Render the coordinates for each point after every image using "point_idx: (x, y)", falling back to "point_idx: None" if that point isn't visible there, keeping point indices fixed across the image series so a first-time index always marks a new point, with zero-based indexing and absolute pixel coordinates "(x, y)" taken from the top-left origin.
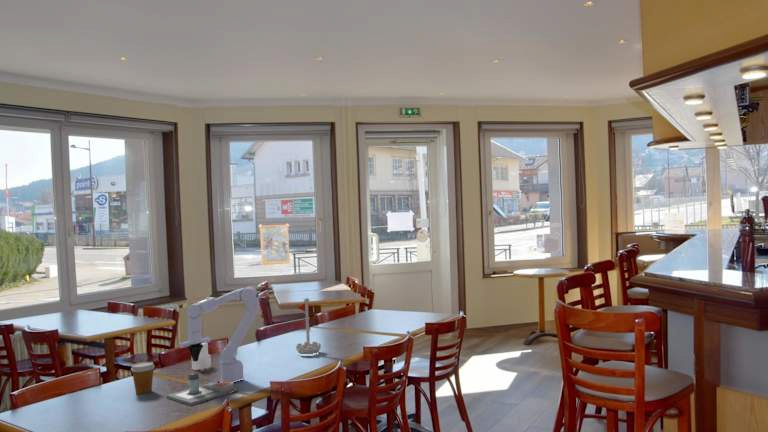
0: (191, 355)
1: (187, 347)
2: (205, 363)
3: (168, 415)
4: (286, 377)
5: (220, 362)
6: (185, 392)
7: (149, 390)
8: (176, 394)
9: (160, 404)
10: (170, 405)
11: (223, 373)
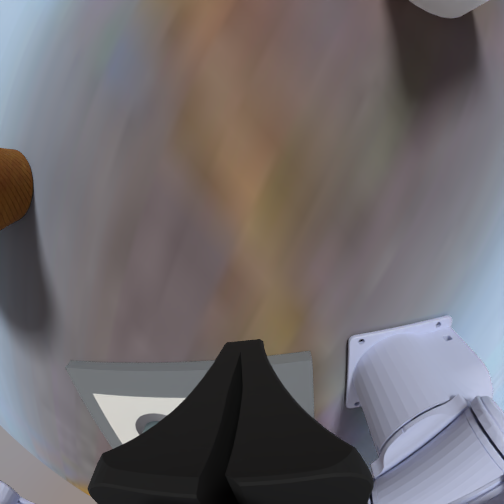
0: (201, 382)
1: (105, 458)
2: (455, 2)
3: (78, 465)
4: None
5: (395, 435)
6: (135, 404)
7: (16, 220)
8: (98, 396)
9: (53, 397)
10: (81, 427)
11: (365, 417)
